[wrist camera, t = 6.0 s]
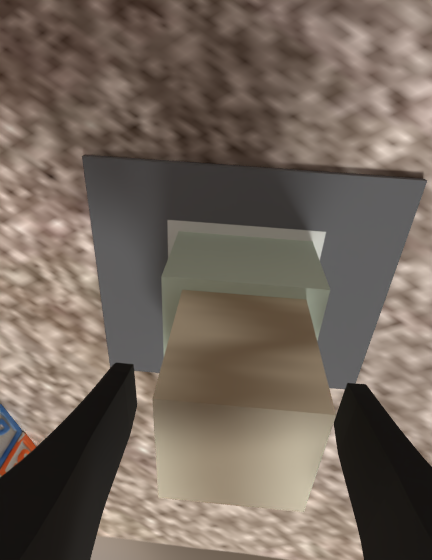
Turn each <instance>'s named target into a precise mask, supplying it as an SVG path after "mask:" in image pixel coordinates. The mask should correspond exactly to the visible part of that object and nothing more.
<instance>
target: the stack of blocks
mask: <svg viewBox="0 0 432 560" xmlns="http://www.w3.org/2000/svg"><path fill="white" fill-rule="evenodd" d="M35 448H36V446H35V445H34V444H33V442H32V441H31V440H30V438H29V437H28V436H27V435H26V433H25V432H22V430H21V428H20V427H19V426H18V424H17V423H16V422H15V421H14V420H13V418H12V417H11V416H10V415H9V413H8V412H7V411H6V410H5V408H4V407H3V406H2V404H0V477H1V476H3V475H4V474H5V473H6V472H7V471H9V470H10V469H11V468H12V467H14V466H15V465H16V464H17V463H19V462H20V461H21V460H22V459H23V458H24V457H26V456H27V455H28V454H29V453H30V452H31V451H32V450H34V449H35Z"/></svg>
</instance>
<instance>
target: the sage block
mask: <svg viewBox="0 0 432 560" xmlns="http://www.w3.org/2000/svg"><path fill="white" fill-rule="evenodd" d="M161 282H162V316H163V349H164V355H165V351H166V347H167V344H168V340H169V336H170V333H171V329H172V325H173V322H174V318H175V314H176V311H177V307H178V303H179V300H180V296H181V292H182V290H192V291H205V292H218V293H230V294H243V295H255V296H268V297H280V298H293V299H305V300H307V303H308V307H309V311H310V315H311V319H312V323H313V327H314V331H315V335H316V339H317V340H318V336H319V333H320V329H321V325H322V321H323V317H324V313H325V309H326V305H327V301H328V297H329V293H330V287H329V285H328V282H327V279H326V277H325V274H324V271H323V268H322V266H321V263H320V260H319V258H318V255H317V252H316V249H315V247H314V244H313V241H300V240H287V239H274V238H261V237H247V236H234V235H221V234H208V233H195V232H182V231H179V232H178V234H177V237H176V240H175V242H174V245H173V247H172V250H171V253H170V255H169V258H168V260H167V263H166V266H165V268H164V271H163V273H162V276H161Z"/></svg>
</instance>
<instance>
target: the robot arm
mask: <svg viewBox="0 0 432 560" xmlns="http://www.w3.org/2000/svg"><path fill="white" fill-rule="evenodd" d="M136 408H137V398H136V386H135V375H134V364H127V363H115V364H113V365H112V366H111V368H110V369H109V370H108V372H107V373H106V374H105V375H104V376H103V378H102V379H101V380H100V381H99V382H98V384H97V385H96V386H95V387H94V388H93V390H92V391H91V392H90V393H89V394H88V395H87V396H86V397H85V399H84V400H83V401H82V402H81V403H80V404H79V405H78V406H77V407H76V408H75V410H74V411H73V412H72V413H71V414H70V415H69V416H68V417H67V418H66V419H65V420H64V421H63V422H62V423H61V424H60V425H59V426H58V427H57V428H56V429H55V430H54V431H53V432H52V433H51V434H50V435H49V436H48V437H47V438H46V439H45V440H44V441H42V442H41V443H40V444H39V445H38V446H37V447H36V448H35V449H34V450H32V451H31V452H30V453H29V454H28V455H27V456H26V457H24V458H23V459H22V460H21V461H20V462H19V463H17V464H16V465H15V466H14V467H12V468H11V469H10V470H9V471H7V472H6V473H5V474H4V475H3V476H1V477H0V560H90V558H91V554H92V550H93V546H94V543H95V539H96V535H97V531H98V528H99V524H100V520H101V516H102V513H103V510H104V507H105V504H106V500H107V498H108V495H109V492H110V489H111V487H112V484H113V481H114V478H115V476H116V473H117V470H118V467H119V464H120V462H121V459H122V456H123V453H124V450H125V448H126V445H127V442H128V439H129V436H130V433H131V429H132V425H133V421H134V417H135V412H136ZM334 428H335V436H336V443H337V449H338V455H339V459H340V463H341V467H342V471H343V474H344V478H345V482H346V486H347V489H348V493H349V497H350V500H351V504H352V508H353V512H354V515H355V519H356V523H357V527H358V531H359V535H360V540H361V545H362V550H363V556H364V560H432V467H431V466H430V465H429V463H428V462H427V461H426V460H425V459H424V458H423V457H422V455H421V454H420V453H419V452H418V451H417V449H416V448H415V447H414V446H413V445H412V443H411V442H410V441H409V440H408V438H407V437H406V436H405V435H404V433H403V432H402V431H401V430H400V429H399V427H398V426H397V425H396V423H395V422H394V421H393V420H392V418H391V417H390V416H389V414H388V413H387V412H386V410H385V409H384V408H383V406H382V405H381V404H380V402H379V401H378V400H377V398H376V397H375V396H374V394H373V393H372V392H371V390H370V389H369V388H368V387H367V385H366V384H354V383H347V385H346V388H345V391H344V394H343V397H342V400H341V403H340V406H339V409H338V412H337V415H336V418H335V421H334Z"/></svg>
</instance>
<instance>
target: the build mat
mask: <svg viewBox="0 0 432 560" xmlns="http://www.w3.org/2000/svg"><path fill="white" fill-rule="evenodd" d="M82 159H83V167H84V174H85V182H86V189H87V197H88V204H89V212H90V219H91V227H92V234H93V242H94V249H95V257H96V264H97V272H98V279H99V287H100V294H101V302H102V309H103V317H104V324H105V332H106V339H107V347H108V354H109V362H110V368H111V366H112V365H113V364H115V363H127V364H134V371H144V372H155V373H160V369H161V366H162V362H163V358H164V349H163V316H162V282H161V276H162V273H163V271H164V268H165V266H166V263H167V260H168V258H169V255H170V253H171V250H172V247H173V245H174V242H175V240H176V237H177V234H178V232H179V231H182V232H195V233H208V234H221V235H234V236H247V237H261V238H274V239H287V240H300V241H313V244H314V247H315V249H316V252H317V255H318V258H319V260H320V263H321V266H322V268H323V271H324V274H325V277H326V279H327V282H328V285H329V287H330V293H329V297H328V301H327V305H326V309H325V313H324V317H323V321H322V325H321V329H320V333H319V336H318V340H317V342H318V346H319V350H320V354H321V358H322V362H323V366H324V370H325V374H326V378H327V382H328V386H329V388H336V389H345V388H346V385H347V383H354V384H355V383H356V380H357V378H358V375H359V372H360V369H361V366H362V363H363V361H364V358H365V355H366V352H367V349H368V346H369V344H370V341H371V338H372V335H373V332H374V330H375V327H376V324H377V321H378V318H379V315H380V313H381V310H382V307H383V304H384V301H385V298H386V296H387V293H388V290H389V287H390V284H391V281H392V279H393V276H394V273H395V270H396V267H397V265H398V262H399V259H400V256H401V253H402V250H403V248H404V245H405V242H406V239H407V236H408V233H409V231H410V228H411V225H412V222H413V219H414V217H415V214H416V211H417V208H418V205H419V202H420V200H421V197H422V194H423V191H424V188H425V185H426V183H427V180H425V179H421V178H407V177H393V176H378V175H364V174H350V173H336V172H322V171H308V170H293V169H279V168H265V167H251V166H237V165H223V164H208V163H194V162H180V161H166V160H152V159H137V158H123V157H109V156H95V155H84V156H82Z"/></svg>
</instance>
